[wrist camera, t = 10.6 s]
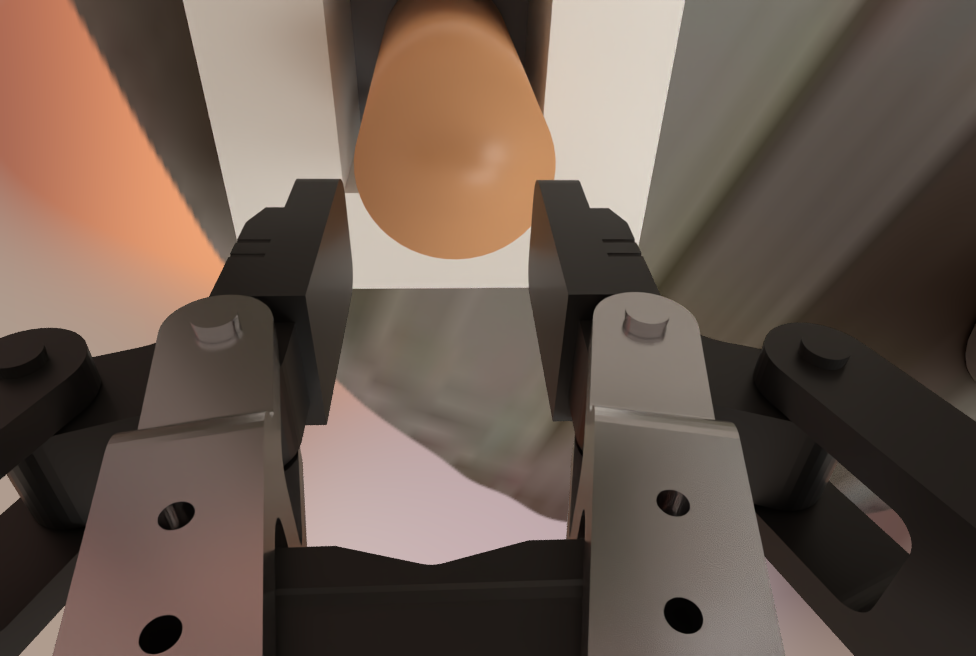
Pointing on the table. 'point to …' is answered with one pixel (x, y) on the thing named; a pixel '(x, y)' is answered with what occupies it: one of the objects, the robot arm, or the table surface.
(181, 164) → the table surface
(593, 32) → the socket block
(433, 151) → the plug
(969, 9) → the table surface
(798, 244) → the table surface
